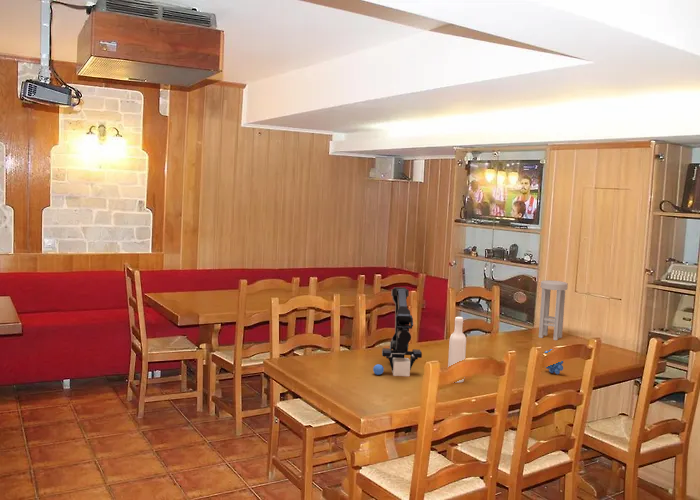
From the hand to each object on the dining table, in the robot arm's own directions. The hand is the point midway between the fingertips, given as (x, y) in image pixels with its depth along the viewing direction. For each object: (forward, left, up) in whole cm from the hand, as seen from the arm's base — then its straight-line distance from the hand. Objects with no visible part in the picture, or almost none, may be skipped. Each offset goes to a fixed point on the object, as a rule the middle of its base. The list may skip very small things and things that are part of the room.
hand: (400, 370), depth 320 cm
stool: (-103, -95, -2) cm, 140 cm away
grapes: (-76, -10, -2) cm, 77 cm away
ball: (+11, +3, +1) cm, 11 cm away
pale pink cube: (0, 0, -2) cm, 2 cm away
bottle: (-25, +8, -2) cm, 26 cm away
